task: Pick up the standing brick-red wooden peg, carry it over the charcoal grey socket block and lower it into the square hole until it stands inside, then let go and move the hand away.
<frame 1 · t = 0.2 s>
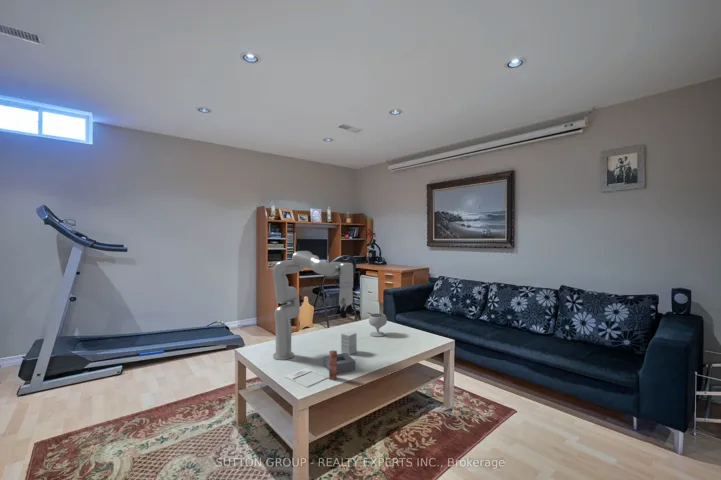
hand: (346, 315, 176), 31 cm above the table, tool pointing down, fingers open, 9 cm apart
chalice: (377, 334, 243), on the table
peg: (332, 378, 166), on the table
socket block: (339, 367, 180), on the table
photo frame: (306, 378, 167), on the table
supplement box: (348, 352, 204), on the table
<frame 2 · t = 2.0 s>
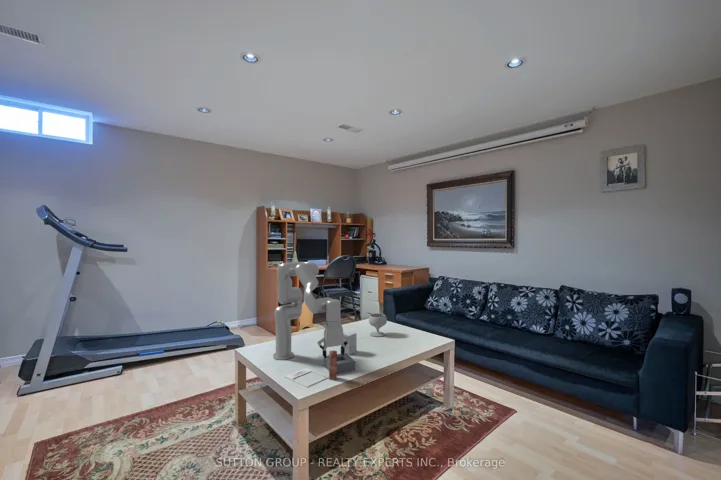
hand: (333, 356, 166), 12 cm above the table, tool pointing down, fingers open, 9 cm apart
nothing on the table moved.
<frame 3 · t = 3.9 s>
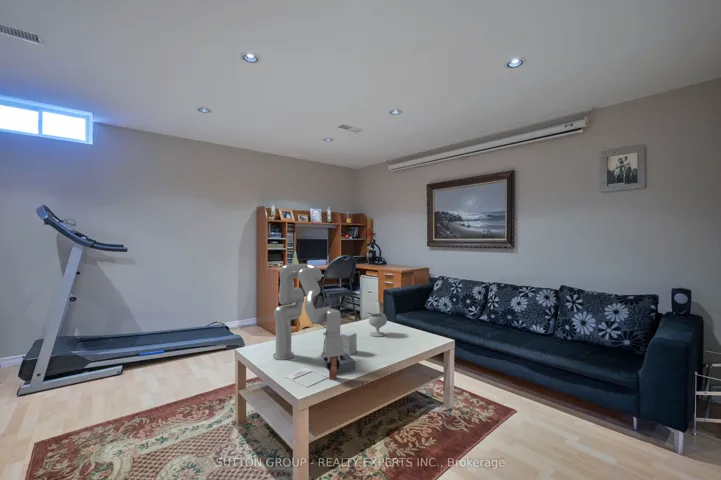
hand: (333, 368, 166), 5 cm above the table, tool pointing down, fingers closed on peg, 4 cm apart
peg: (332, 378, 166), on the table, touching gripper
everything else where it was.
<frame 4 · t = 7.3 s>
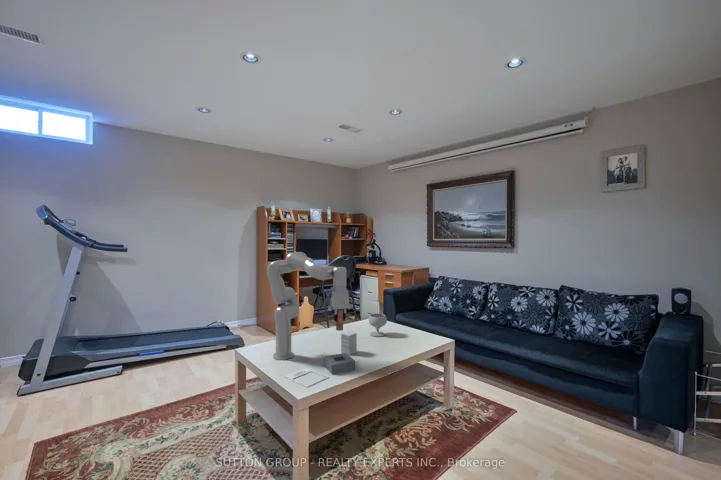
hand: (339, 320, 180), 27 cm above the table, tool pointing down, fingers closed on peg, 4 cm apart
peg: (339, 329, 180), point 22 cm above the table, touching gripper
everything else where it was.
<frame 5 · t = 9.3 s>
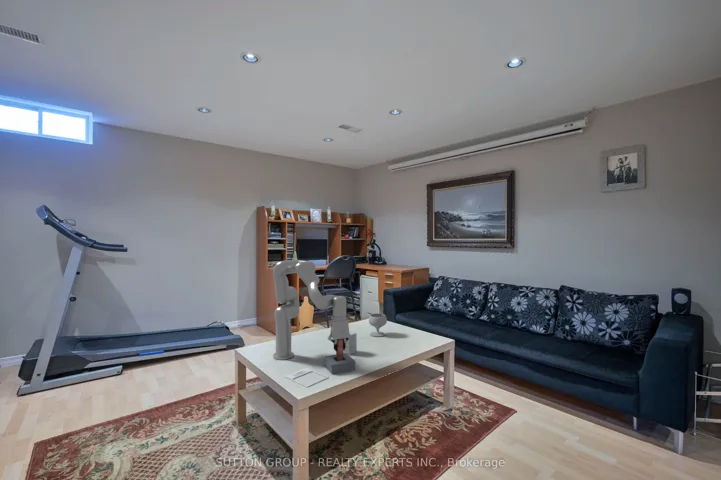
hand: (339, 349, 180), 10 cm above the table, tool pointing down, fingers closed on peg, 4 cm apart
peg: (339, 359, 180), point 5 cm above the table, touching gripper
everything else where it was.
when the fingers open (7 cm above the table, at t = 11.0 s): peg drops 1 cm, resting in socket block.
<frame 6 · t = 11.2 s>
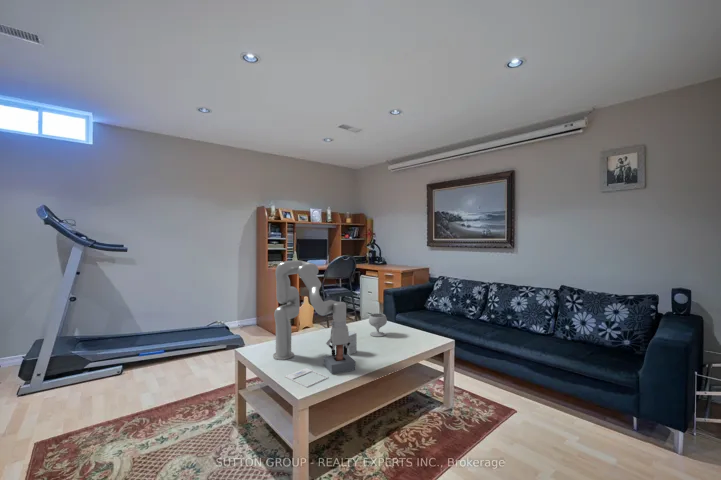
hand: (339, 355, 180), 7 cm above the table, tool pointing down, fingers open, 6 cm apart
peg: (339, 367, 180), resting in socket block
everything else where it was.
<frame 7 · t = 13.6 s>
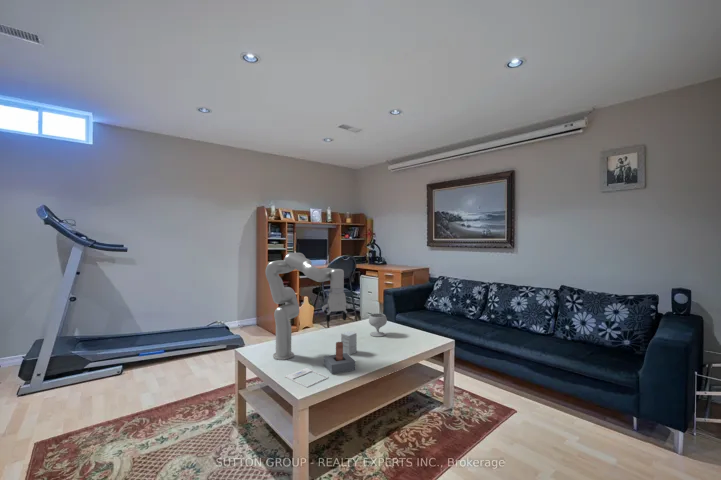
hand: (336, 320, 181), 27 cm above the table, tool pointing down, fingers open, 9 cm apart
nothing on the table moved.
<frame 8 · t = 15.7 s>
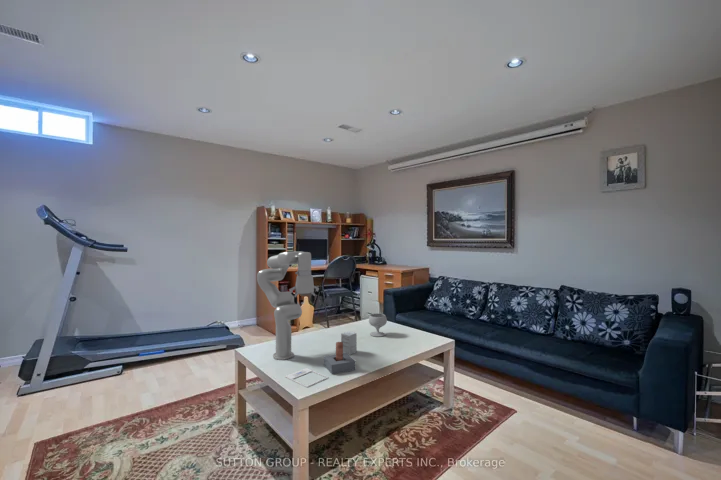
hand: (304, 303, 182), 36 cm above the table, tool pointing down, fingers open, 9 cm apart
nothing on the table moved.
at the end: peg 0.0 cm off-centre on the socket block, point 0.0 cm above the socket block's base; peg tilted 0°; the gripper is holding nothing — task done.
